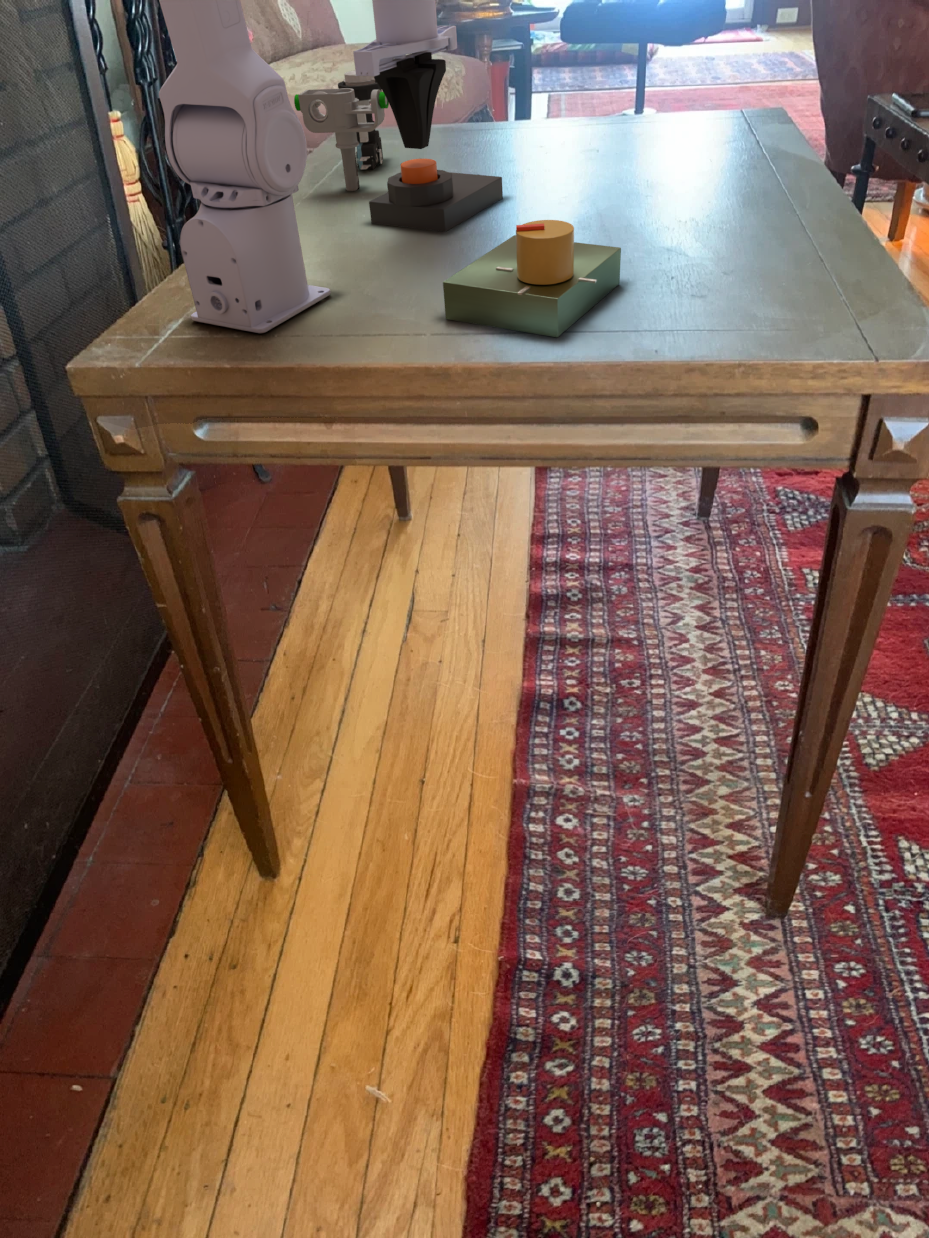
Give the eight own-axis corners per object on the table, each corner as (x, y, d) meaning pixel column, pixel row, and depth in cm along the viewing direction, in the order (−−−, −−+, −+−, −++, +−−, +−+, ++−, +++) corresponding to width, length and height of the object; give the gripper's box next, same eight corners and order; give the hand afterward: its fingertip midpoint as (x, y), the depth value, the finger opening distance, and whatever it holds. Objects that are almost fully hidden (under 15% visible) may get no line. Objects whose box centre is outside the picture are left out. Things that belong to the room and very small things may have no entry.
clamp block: (571, 341, 69) (571, 300, 67) (443, 320, 74) (440, 281, 72) (634, 285, 77) (636, 247, 75) (514, 269, 82) (513, 233, 80)
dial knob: (571, 263, 74) (571, 213, 71) (576, 283, 70) (576, 231, 68) (516, 267, 74) (514, 217, 71) (518, 287, 70) (516, 235, 68)
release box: (444, 233, 91) (440, 190, 89) (369, 224, 95) (364, 183, 92) (503, 198, 99) (501, 158, 97) (432, 191, 103) (429, 152, 100)
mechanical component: (392, 193, 104) (381, 92, 97) (306, 193, 106) (290, 95, 99) (399, 185, 106) (389, 86, 99) (314, 186, 108) (299, 89, 101)
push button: (385, 173, 110) (374, 78, 104) (342, 175, 111) (328, 80, 105) (395, 159, 115) (385, 67, 109) (353, 160, 116) (341, 69, 110)
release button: (425, 188, 91) (424, 169, 90) (395, 185, 93) (393, 166, 91) (444, 178, 93) (443, 159, 92) (414, 175, 95) (412, 157, 94)
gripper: (394, -10, 76) (410, 168, 84) (481, -30, 85) (487, 132, 94) (326, -9, 79) (348, 163, 87) (417, -29, 88) (429, 128, 97)
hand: (416, 147), depth 91 cm, fingers closed
